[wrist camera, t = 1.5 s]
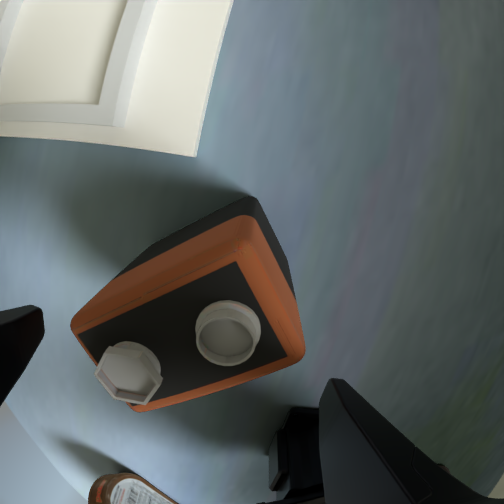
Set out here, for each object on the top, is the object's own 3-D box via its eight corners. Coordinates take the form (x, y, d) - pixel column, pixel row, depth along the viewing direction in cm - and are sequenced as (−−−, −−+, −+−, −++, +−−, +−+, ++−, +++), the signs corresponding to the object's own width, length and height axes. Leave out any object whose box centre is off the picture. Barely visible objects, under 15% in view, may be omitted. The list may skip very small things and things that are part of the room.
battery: (146, 246, 18) (46, 337, 8) (254, 191, 17) (243, 242, 7) (184, 310, 19) (126, 436, 9) (289, 263, 18) (316, 382, 8)
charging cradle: (251, -57, 12) (250, -78, 10) (196, 156, 16) (186, 157, 14) (6, -25, 12) (-10, -33, 9) (-40, 135, 16) (-60, 136, 13)
